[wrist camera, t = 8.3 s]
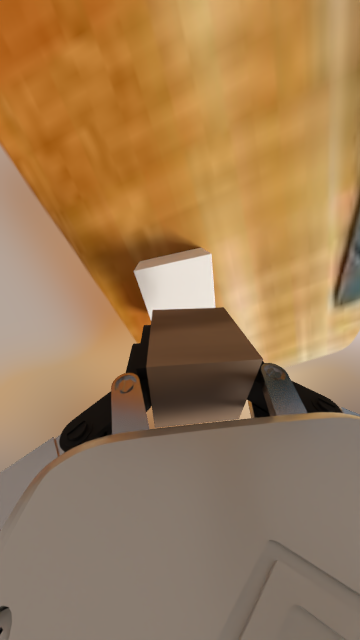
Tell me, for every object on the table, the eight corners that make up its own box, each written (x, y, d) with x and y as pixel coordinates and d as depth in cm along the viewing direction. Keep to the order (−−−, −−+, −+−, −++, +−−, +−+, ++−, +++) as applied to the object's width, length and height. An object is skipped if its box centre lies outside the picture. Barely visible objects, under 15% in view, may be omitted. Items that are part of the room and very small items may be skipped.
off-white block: (139, 260, 20) (133, 271, 16) (200, 247, 20) (211, 253, 15) (156, 313, 24) (155, 332, 20) (206, 302, 24) (216, 319, 20)
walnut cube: (152, 309, 10) (146, 367, 6) (223, 307, 11) (263, 359, 7) (157, 362, 13) (154, 427, 9) (214, 358, 14) (238, 419, 9)
